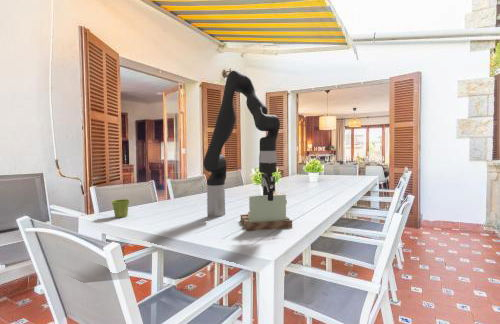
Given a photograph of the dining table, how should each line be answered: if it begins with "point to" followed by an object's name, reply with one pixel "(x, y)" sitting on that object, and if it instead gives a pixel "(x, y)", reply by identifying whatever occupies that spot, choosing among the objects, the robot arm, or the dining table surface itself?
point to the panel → (267, 208)
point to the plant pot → (120, 207)
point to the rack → (265, 224)
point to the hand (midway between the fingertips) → (267, 198)
